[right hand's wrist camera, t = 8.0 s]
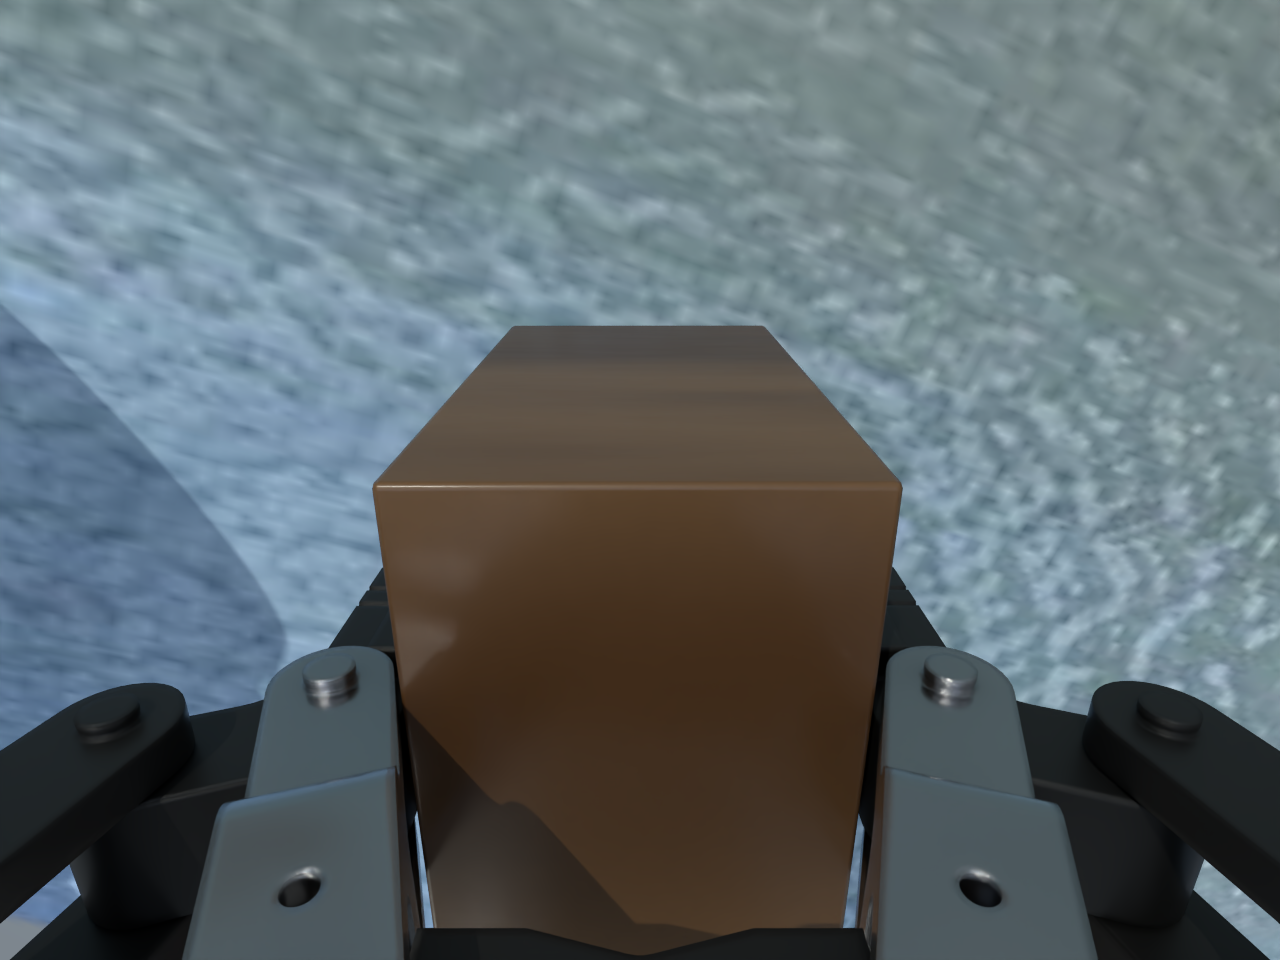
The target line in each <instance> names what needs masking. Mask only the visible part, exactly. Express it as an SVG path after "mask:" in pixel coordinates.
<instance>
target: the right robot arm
mask: <svg viewBox="0 0 1280 960" xmlns="http://www.w3.org/2000/svg"><path fill="white" fill-rule="evenodd" d="M416 812H417V805H416V798H415V791H414V784H413V776H412V769H411V762H410V755H409V748H408V741H407V734H406V726H405V719H404V712H403V705H402V698H401V691H400V683H399V676H398V669H397V662H396V655H395V648H394V641H393V633H392V626H391V619H390V612H389V605H388V598H387V590H386V583H385V576H384V569H383V568H382V569H381V570H380V572H379V573H378V575H377V576H376V578H375V579H374V581H373V582H372V584H371V585H370V589H369V591H366V593H365V594H364V596H363V597H362V599H361V600H360V602H359V606H356V608H355V609H354V611H353V612H352V614H351V615H350V617H349V618H348V620H347V621H346V623H345V624H344V626H343V627H342V629H341V630H340V632H339V633H338V635H337V636H336V638H335V639H334V641H333V642H332V644H331V645H330V647H329V648H328V649H324V650H320V651H317V652H314V653H311V654H308V655H306V656H303V657H301V658H299V659H297V660H295V661H293V662H292V663H290V664H289V665H287V666H286V667H284V668H283V669H282V670H280V671H279V672H278V673H277V674H276V675H275V676H274V677H273V678H272V680H271V681H270V683H269V684H268V686H267V689H266V692H265V697H264V700H261V701H258V702H255V703H251V704H247V705H243V706H239V707H234V708H229V709H224V710H219V711H214V712H209V713H203V714H198V715H193V716H189V713H188V709H187V706H186V702H185V699H184V696H183V694H182V693H181V692H180V691H179V690H178V689H176V688H174V687H172V686H169V685H165V684H159V683H140V684H131V685H126V686H120V687H117V688H113V689H109V690H106V691H103V692H100V693H97V694H94V695H92V696H89V697H87V698H84V699H82V700H80V701H78V702H76V703H74V704H72V705H70V706H69V707H67V708H65V709H64V710H62V711H60V712H59V713H57V714H56V715H54V716H53V717H51V718H50V719H48V720H47V721H45V722H44V723H42V724H41V725H39V726H38V727H36V728H35V729H33V730H31V731H30V732H28V733H27V734H25V735H24V736H22V737H21V738H19V739H18V740H16V741H15V742H13V743H12V744H10V745H9V746H7V747H6V748H4V749H3V750H1V751H0V923H1V922H3V921H4V920H5V919H6V918H7V917H8V916H10V915H11V914H12V913H13V912H14V911H15V910H17V909H18V908H19V907H20V906H21V905H22V904H24V903H25V902H26V901H27V900H28V899H29V898H31V897H32V896H33V895H34V894H35V893H36V892H38V891H39V890H40V889H41V888H42V887H43V886H45V885H46V884H47V883H48V882H49V881H50V880H52V879H53V878H54V877H55V876H56V875H57V874H59V873H60V872H61V871H62V870H63V869H64V868H65V867H67V866H68V865H69V864H70V867H71V870H72V873H73V875H74V878H75V881H76V883H77V886H78V889H79V892H80V894H81V895H80V896H79V897H78V898H77V899H76V900H75V901H74V902H73V903H72V904H71V905H70V906H68V907H67V908H66V909H65V910H64V911H63V912H62V913H61V914H60V915H59V916H57V917H56V918H55V919H54V920H53V921H52V922H51V923H50V924H49V925H48V926H46V927H45V928H44V929H43V930H42V931H41V932H40V933H39V934H38V935H37V936H36V937H34V938H33V939H32V940H31V941H30V942H29V943H28V944H27V945H26V946H25V947H23V948H22V949H21V950H20V951H19V952H18V953H17V954H16V955H15V956H14V957H12V958H11V959H10V960H1270V959H1269V958H1268V957H1266V956H1265V955H1264V954H1263V953H1262V952H1261V951H1260V950H1259V949H1258V948H1257V947H1255V946H1254V945H1253V944H1252V943H1251V942H1250V941H1249V940H1248V939H1247V938H1246V937H1244V936H1243V935H1242V934H1241V933H1240V932H1239V931H1238V930H1237V929H1236V928H1235V927H1234V926H1232V925H1231V924H1230V923H1229V922H1228V921H1227V920H1226V919H1225V918H1224V917H1223V916H1221V915H1220V914H1219V913H1218V912H1217V911H1216V910H1215V909H1214V908H1213V907H1212V906H1210V905H1209V904H1208V903H1207V902H1206V901H1205V900H1204V899H1203V898H1202V897H1201V896H1199V895H1198V894H1197V893H1196V892H1195V891H1194V890H1193V889H1194V886H1195V883H1196V880H1197V878H1198V875H1199V872H1200V869H1201V867H1202V864H1203V861H1204V859H1205V860H1206V861H1207V862H1209V863H1210V864H1211V865H1212V866H1213V867H1214V868H1216V869H1217V870H1218V871H1219V872H1220V873H1221V874H1223V875H1224V876H1225V877H1226V878H1227V879H1228V880H1230V881H1231V882H1232V883H1233V884H1234V885H1235V886H1237V887H1238V888H1239V889H1240V890H1241V891H1242V892H1244V893H1245V894H1246V895H1247V896H1248V897H1249V898H1251V899H1252V900H1253V901H1254V902H1255V903H1256V904H1258V905H1259V906H1260V907H1261V908H1262V909H1263V910H1265V911H1266V912H1267V913H1268V914H1269V915H1270V916H1272V917H1273V918H1274V919H1275V920H1276V921H1277V922H1278V923H1279V924H1280V751H1279V750H1277V749H1276V748H1274V747H1273V746H1271V745H1270V744H1268V743H1267V742H1265V741H1264V740H1262V739H1261V738H1259V737H1258V736H1256V735H1255V734H1253V733H1252V732H1250V731H1249V730H1247V729H1245V728H1244V727H1242V726H1241V725H1239V724H1238V723H1236V722H1235V721H1233V720H1232V719H1230V718H1229V717H1227V716H1226V715H1224V714H1223V713H1221V712H1220V711H1218V710H1217V709H1215V708H1213V707H1212V706H1210V705H1208V704H1207V703H1205V702H1203V701H1201V700H1199V699H1197V698H1195V697H1193V696H1190V695H1188V694H1185V693H1183V692H1180V691H1177V690H1174V689H1171V688H1168V687H1164V686H1161V685H1157V684H1151V683H1146V682H1137V681H1119V682H1112V683H1108V684H1105V685H1103V686H1101V687H1099V688H1098V689H1097V690H1096V691H1095V692H1094V695H1093V697H1092V701H1091V704H1090V708H1089V712H1088V716H1086V715H1081V714H1076V713H1071V712H1066V711H1061V710H1056V709H1051V708H1046V707H1041V706H1036V705H1031V704H1027V703H1023V702H1019V701H1016V697H1015V692H1014V689H1013V686H1012V684H1011V683H1010V681H1009V680H1008V678H1007V677H1006V676H1005V675H1004V674H1003V673H1002V672H1001V671H1000V670H998V669H997V668H996V667H994V666H993V665H991V664H990V663H988V662H987V661H985V660H983V659H981V658H979V657H977V656H974V655H971V654H969V653H966V652H963V651H960V650H956V649H951V648H947V647H946V646H945V645H944V643H943V642H942V640H941V639H940V637H939V636H938V634H937V633H936V631H935V630H934V628H933V627H932V625H931V624H930V622H929V621H928V619H927V618H926V616H925V614H924V613H923V611H922V610H921V608H920V607H919V605H916V601H915V599H914V598H913V596H912V595H911V593H910V592H909V590H906V586H905V584H904V583H903V581H902V580H901V578H900V577H899V575H898V574H897V572H896V571H895V569H894V568H893V567H892V571H891V578H890V585H889V593H888V600H887V607H886V615H885V622H884V629H883V637H882V644H881V652H880V659H879V666H878V674H877V681H876V688H875V696H874V703H873V710H872V718H871V725H870V732H869V740H868V747H867V754H866V762H865V769H864V776H863V784H862V791H861V798H860V806H859V815H860V818H861V821H862V824H863V826H864V830H863V837H862V844H861V856H860V868H859V881H858V894H857V906H856V919H855V928H752V929H748V930H744V931H740V932H736V933H732V934H728V935H724V936H720V937H716V938H712V939H709V940H705V941H701V942H697V943H693V944H689V945H685V946H681V947H677V948H673V949H669V950H665V951H661V952H658V953H654V954H648V955H632V954H626V953H622V952H619V951H615V950H611V949H607V948H603V947H599V946H595V945H591V944H587V943H583V942H579V941H575V940H571V939H568V938H564V937H560V936H556V935H552V934H548V933H544V932H540V931H536V930H532V929H528V928H425V919H424V907H423V894H422V881H421V869H420V856H419V844H418V837H417V830H416V823H415V815H416Z"/></svg>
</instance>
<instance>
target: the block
mask: <svg viewBox="0 0 1280 960" xmlns="http://www.w3.org/2000/svg"><path fill="white" fill-rule="evenodd" d="M372 490H373V497H374V505H375V512H376V519H377V526H378V533H379V540H380V547H381V555H382V562H383V569H384V576H385V583H386V590H387V598H388V605H389V612H390V619H391V626H392V633H393V641H394V648H395V655H396V662H397V669H398V676H399V683H400V691H401V698H402V705H403V712H404V719H405V726H406V734H407V741H408V748H409V755H410V762H411V769H412V776H413V784H414V791H415V798H416V805H417V812H418V819H419V827H420V834H421V841H422V848H423V855H424V862H425V870H426V877H427V884H428V891H429V898H430V905H431V912H432V920H433V927H434V928H528V929H532V930H536V931H540V932H544V933H548V934H552V935H556V936H560V937H564V938H568V939H571V940H575V941H579V942H583V943H587V944H591V945H595V946H599V947H603V948H607V949H611V950H615V951H619V952H622V953H626V954H632V955H648V954H654V953H658V952H661V951H665V950H669V949H673V948H677V947H681V946H685V945H689V944H693V943H697V942H701V941H705V940H709V939H712V938H716V937H720V936H724V935H728V934H732V933H736V932H740V931H744V930H748V929H752V928H843V923H844V916H845V909H846V901H847V894H848V887H849V879H850V872H851V865H852V857H853V850H854V843H855V835H856V828H857V821H858V813H859V806H860V798H861V791H862V784H863V776H864V769H865V762H866V754H867V747H868V740H869V732H870V725H871V718H872V710H873V703H874V696H875V688H876V681H877V674H878V666H879V659H880V652H881V644H882V637H883V629H884V622H885V615H886V607H887V600H888V593H889V585H890V578H891V571H892V563H893V556H894V549H895V541H896V534H897V527H898V519H899V512H900V505H901V497H902V490H903V487H902V484H901V482H900V481H899V480H898V479H897V478H896V476H895V475H894V474H893V473H892V472H891V471H890V470H889V468H888V467H887V466H886V465H885V464H884V463H883V462H882V460H881V459H880V458H879V457H878V456H877V455H876V454H875V452H874V451H873V450H872V449H871V448H870V447H869V446H868V444H867V443H866V442H865V441H864V440H863V439H862V438H861V436H860V435H859V434H858V433H857V432H856V431H855V430H854V428H853V427H852V426H851V425H850V424H849V423H848V422H847V420H846V419H845V418H844V417H843V416H842V415H841V414H840V412H839V411H838V410H837V409H836V408H835V407H834V406H833V404H832V403H831V402H830V401H829V400H828V399H827V398H826V396H825V395H824V394H823V393H822V392H821V391H820V390H819V388H818V387H817V386H816V385H815V384H814V383H813V382H812V380H811V379H810V378H809V377H808V376H807V375H806V374H805V372H804V371H803V370H802V369H801V368H800V367H799V366H798V364H797V363H796V362H795V361H794V360H793V359H792V358H791V356H790V355H789V354H788V353H787V352H786V351H785V350H784V348H783V347H782V346H781V345H780V344H779V343H778V342H777V340H776V339H775V338H774V337H773V336H772V335H771V334H770V332H769V331H768V330H767V329H766V328H765V327H764V326H514V327H512V328H511V329H510V330H509V331H508V333H507V334H506V335H505V336H504V337H503V338H502V339H501V340H500V342H499V343H498V344H497V345H496V346H495V347H494V348H493V349H492V351H491V352H490V353H489V354H488V355H487V356H486V357H485V359H484V360H483V361H482V362H481V363H480V364H479V365H478V366H477V368H476V369H475V370H474V371H473V372H472V373H471V374H470V375H469V377H468V378H467V379H466V380H465V381H464V382H463V383H462V384H461V386H460V387H459V388H458V389H457V390H456V391H455V392H454V393H453V395H452V396H451V397H450V398H449V399H448V400H447V401H446V402H445V404H444V405H443V406H442V407H441V408H440V409H439V410H438V411H437V413H436V414H435V415H434V416H433V417H432V418H431V419H430V420H429V422H428V423H427V424H426V425H425V426H424V427H423V428H422V430H421V431H420V432H419V433H418V434H417V435H416V436H415V437H414V439H413V440H412V441H411V442H410V443H409V444H408V445H407V446H406V448H405V449H404V450H403V451H402V452H401V453H400V454H399V455H398V457H397V458H396V459H395V460H394V461H393V462H392V463H391V464H390V466H389V467H388V468H387V469H386V470H385V471H384V472H383V473H382V475H381V476H380V477H379V478H378V479H377V480H376V481H375V482H374V485H373V488H372Z"/></svg>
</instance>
